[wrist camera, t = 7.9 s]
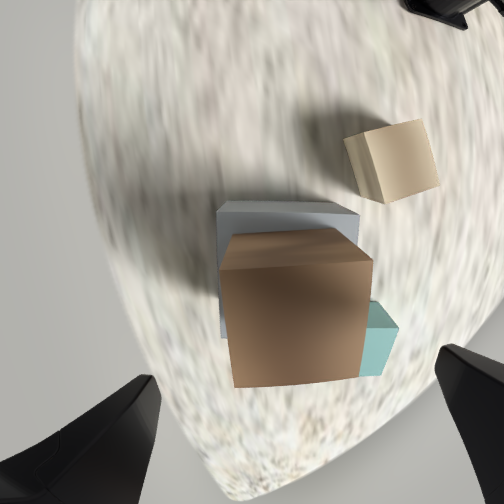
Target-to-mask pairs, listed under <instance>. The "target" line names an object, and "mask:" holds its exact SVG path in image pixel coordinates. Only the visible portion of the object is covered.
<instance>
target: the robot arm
mask: <svg viewBox="0 0 504 504" xmlns="http://www.w3.org/2000/svg"><path fill="white" fill-rule="evenodd" d="M487 1H490V2H491V3H492V4H493V6H494V7H495V8H496V9H497V10H498V12H499V13H500V14H501V15H502V16H503V17H504V0H405V3H406V6H407V8H408V10H409V11H410V12H412V13H415V14H418V15H421V16H425V17H428V18H431V19H434V20H437V21H440V22H443V23H445V24H448V25H451V26H453V27H456V28H458V29H461V30H466V29H468V26H467V23H466V20H465V18H464V14H466V13H468V12H469V11H471V10H473V9H474V8H476V7H478V6H480V5H481V4H483V3H485V2H487ZM435 374H436V376H437V379H438V381H439V384H440V387H441V389H442V392H443V395H444V398H445V401H446V403H447V406H448V408H449V411H450V413H451V415H452V417H453V420H454V422H455V424H456V426H457V428H458V431H459V433H460V435H461V438H462V440H463V442H464V445H465V447H466V450H467V452H468V454H469V457H470V460H471V462H472V465H473V468H474V470H475V473H476V476H477V478H478V481H479V484H480V487H481V490H482V494H483V497H484V499H485V504H504V364H502V363H500V362H497V361H495V360H492V359H489V358H487V357H485V356H482V355H480V354H477V353H474V352H472V351H470V350H467V349H465V348H462V347H460V346H457V345H455V344H447V345H444V346H442V347H441V348H440V350H439V354H438V357H437V360H436V363H435ZM160 406H161V393H160V390H159V388H158V385H157V382H156V379H155V377H154V376H153V375H146V374H141V375H139V376H137V377H136V378H134V379H133V380H132V381H130V382H129V383H127V384H126V385H125V386H123V387H122V388H120V389H119V390H118V391H116V392H115V393H113V394H112V395H110V396H109V397H107V398H106V399H105V400H103V401H102V402H100V403H99V404H97V405H96V406H95V407H93V408H91V409H90V410H89V411H87V412H86V413H84V414H83V415H81V416H80V417H78V418H77V419H75V420H74V421H72V422H71V423H69V424H68V425H66V426H65V427H63V428H62V429H61V430H60V431H57V432H55V433H54V434H52V435H51V436H49V437H48V438H46V439H44V440H43V441H41V442H39V443H38V444H36V445H34V446H32V447H30V448H28V449H26V450H24V451H22V452H20V453H18V454H16V455H14V456H12V457H10V458H7V459H6V460H3V461H1V462H0V504H138V503H139V499H140V495H141V491H142V487H143V483H144V479H145V476H146V472H147V468H148V464H149V461H150V457H151V453H152V449H153V446H154V442H155V437H156V431H157V424H158V418H159V412H160Z"/></svg>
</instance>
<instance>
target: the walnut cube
mask: <svg viewBox="0 0 504 504" xmlns="http://www.w3.org/2000/svg"><path fill="white" fill-rule="evenodd" d="M372 272H373V259H371V258H370V257H369V256H368V255H367V254H366V253H364V252H363V251H362V250H361V249H360V248H359V247H357V246H356V245H355V244H354V243H353V242H352V241H350V240H349V239H348V238H347V237H346V236H344V235H343V234H342V233H341V232H340V231H338V230H337V229H336V228H328V229H309V230H291V231H274V232H257V233H242V234H232V237H231V239H230V242H229V245H228V247H227V250H226V253H225V255H224V258H223V261H222V263H221V266H220V269H219V276H220V284H221V293H222V301H223V309H224V317H225V324H226V332H227V339H228V346H229V353H230V360H231V367H232V374H233V381H234V387H235V388H250V387H272V386H287V385H299V384H310V383H319V382H327V381H335V380H342V379H349V378H355V377H359V372H360V366H361V361H362V355H363V349H364V342H365V336H366V329H367V321H368V313H369V304H370V295H371V284H372Z"/></svg>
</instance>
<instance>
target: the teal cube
mask: <svg viewBox="0 0 504 504" xmlns="http://www.w3.org/2000/svg"><path fill="white" fill-rule="evenodd" d="M398 330H399V327H398V326H397V325H396V324H395V322H394V321H393V320H392V318H391V317H390V316H389V315H388V313H387V312H386V311H385V310H384V308H383V307H382V306H381V305H380V303H379V302H370V304H369V313H368V321H367V329H366V336H365V342H364V349H363V355H362V361H361V366H360V372H359V376H379V375H381V374H382V371H383V369H384V367H385V364H386V362H387V359H388V357H389V354H390V352H391V349H392V346H393V344H394V341H395V338H396V336H397V333H398Z"/></svg>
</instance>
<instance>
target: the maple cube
mask: <svg viewBox="0 0 504 504" xmlns="http://www.w3.org/2000/svg"><path fill="white" fill-rule="evenodd" d="M343 141H344V144H345V147H346V150H347V153H348V156H349V159H350V162H351V165H352V168H353V172H354V175H355V178H356V181H357V185H358V188H359V192H360V195H361V197H363V198H367V199H370V200H373V201H376V202H379V203H382V204H388V203H391V202H394V201H396V200H399V199H402V198H405V197H408V196H411V195H414V194H417V193H420V192H423V191H425V190H428V189H431V188H434V187H437V186H440V184H439V179H438V175H437V170H436V166H435V162H434V158H433V154H432V151H431V147H430V143H429V140H428V137H427V133H426V130H425V127H424V124H423V121H422V119H417V120H413V121H408V122H404V123H399V124H395V125H391V126H387V127H383V128H379V129H375V130H371V131H367V132H363V133H360V134H357V135H354V136H350V137H347V138H344V139H343Z"/></svg>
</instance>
